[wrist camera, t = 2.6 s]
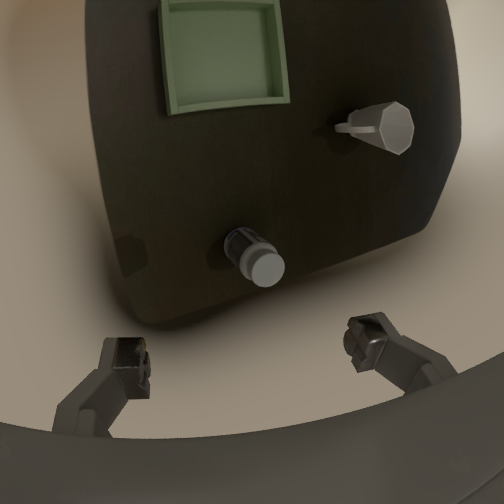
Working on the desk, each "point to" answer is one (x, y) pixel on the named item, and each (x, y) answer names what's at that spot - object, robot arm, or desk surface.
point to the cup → (381, 126)
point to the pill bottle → (254, 257)
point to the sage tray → (222, 54)
